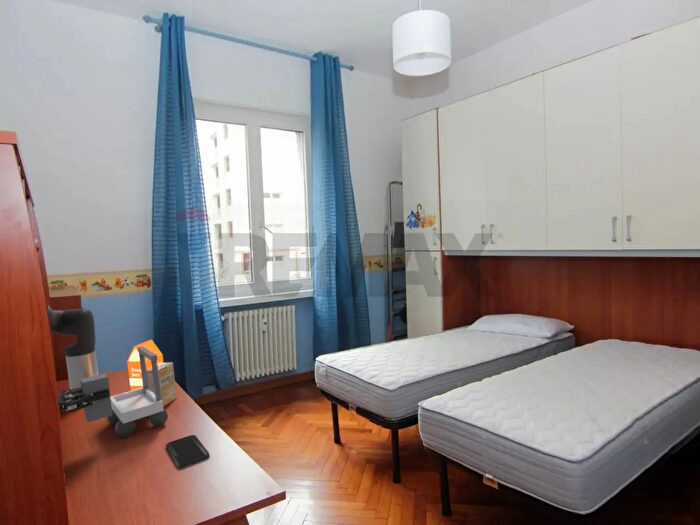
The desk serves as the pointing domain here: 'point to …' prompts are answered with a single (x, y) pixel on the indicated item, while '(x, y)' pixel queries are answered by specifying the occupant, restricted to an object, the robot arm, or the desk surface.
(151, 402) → the trolley
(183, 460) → the phone
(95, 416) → the block
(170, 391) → the supplement box
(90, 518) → the desk surface
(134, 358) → the orange juice
